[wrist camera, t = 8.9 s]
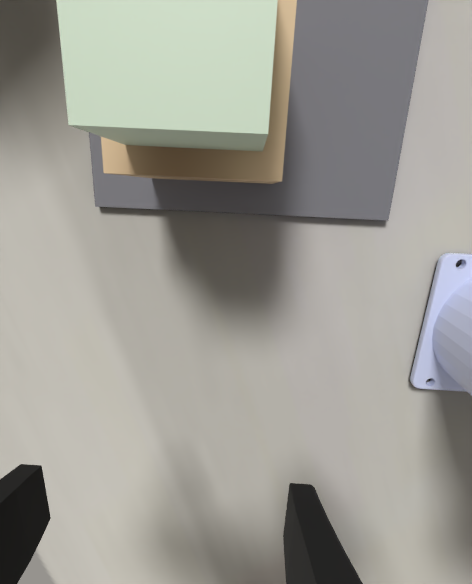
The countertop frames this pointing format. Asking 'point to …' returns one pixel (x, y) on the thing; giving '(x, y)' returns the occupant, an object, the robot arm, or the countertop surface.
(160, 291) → the countertop surface
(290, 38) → the oak slab upper
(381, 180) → the mat
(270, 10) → the sage block
